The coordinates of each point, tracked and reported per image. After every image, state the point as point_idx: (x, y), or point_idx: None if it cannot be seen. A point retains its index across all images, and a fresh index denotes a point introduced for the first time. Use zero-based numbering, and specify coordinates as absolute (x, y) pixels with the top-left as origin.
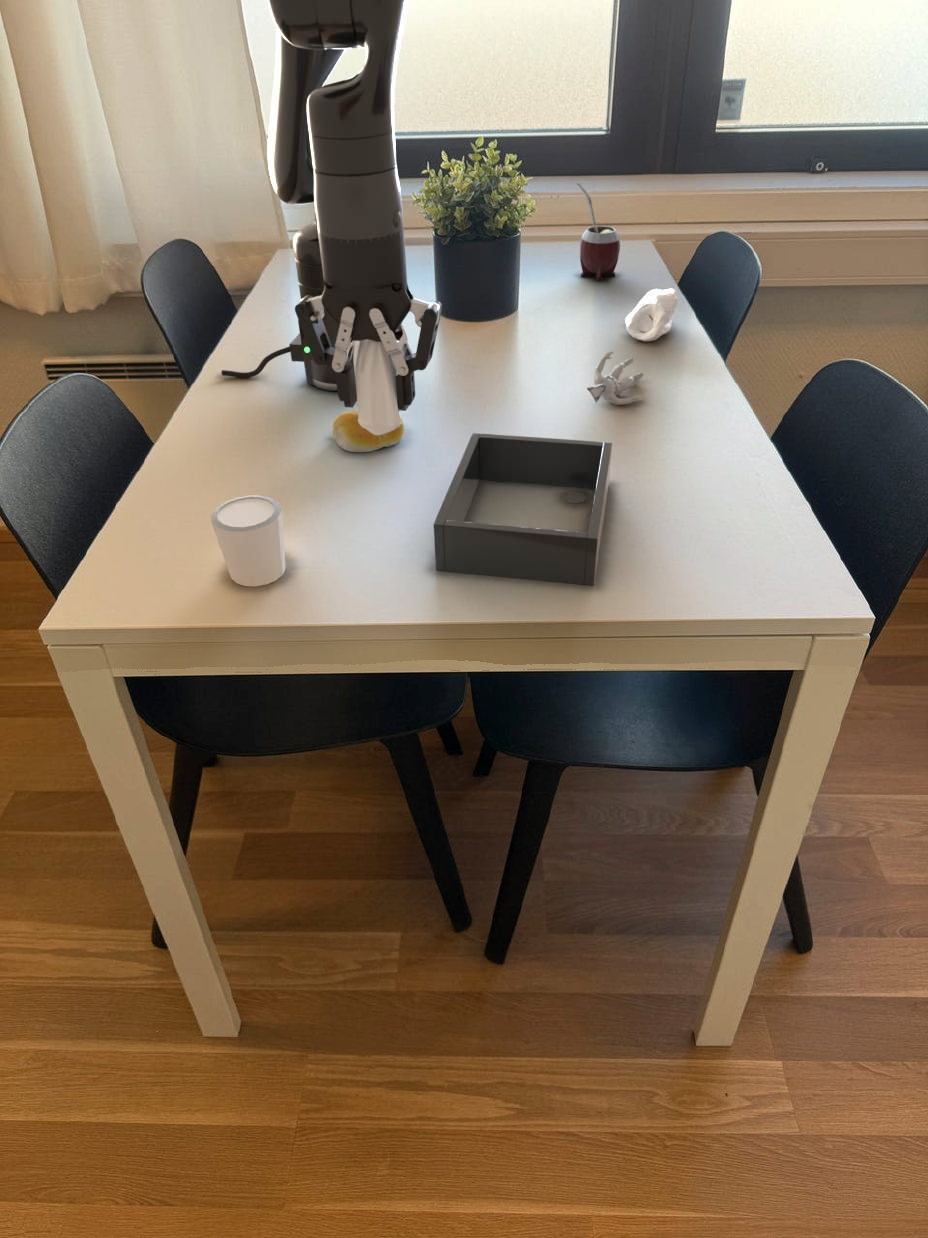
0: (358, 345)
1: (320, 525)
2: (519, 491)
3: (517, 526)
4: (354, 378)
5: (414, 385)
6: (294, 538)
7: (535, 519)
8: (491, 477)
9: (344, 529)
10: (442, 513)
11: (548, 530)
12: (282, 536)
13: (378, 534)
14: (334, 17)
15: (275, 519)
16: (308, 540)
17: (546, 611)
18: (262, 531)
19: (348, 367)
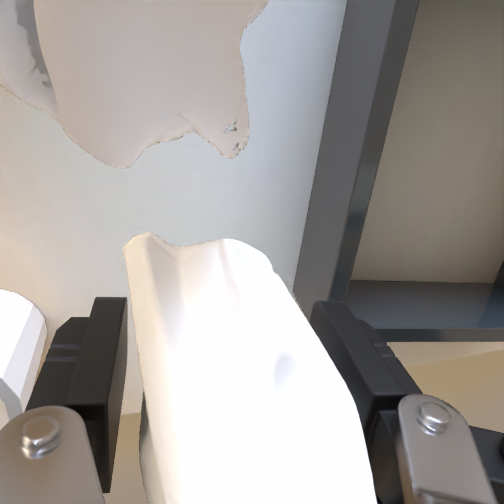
0: (8, 78)
1: (49, 180)
2: (454, 11)
3: (455, 328)
4: (116, 362)
5: (394, 360)
6: (14, 230)
7: (463, 127)
8: None
9: (106, 191)
10: None
11: (499, 332)
12: (32, 365)
13: (179, 202)
14: None
15: None
16: (47, 234)
17: (431, 349)
18: None
19: (96, 461)
